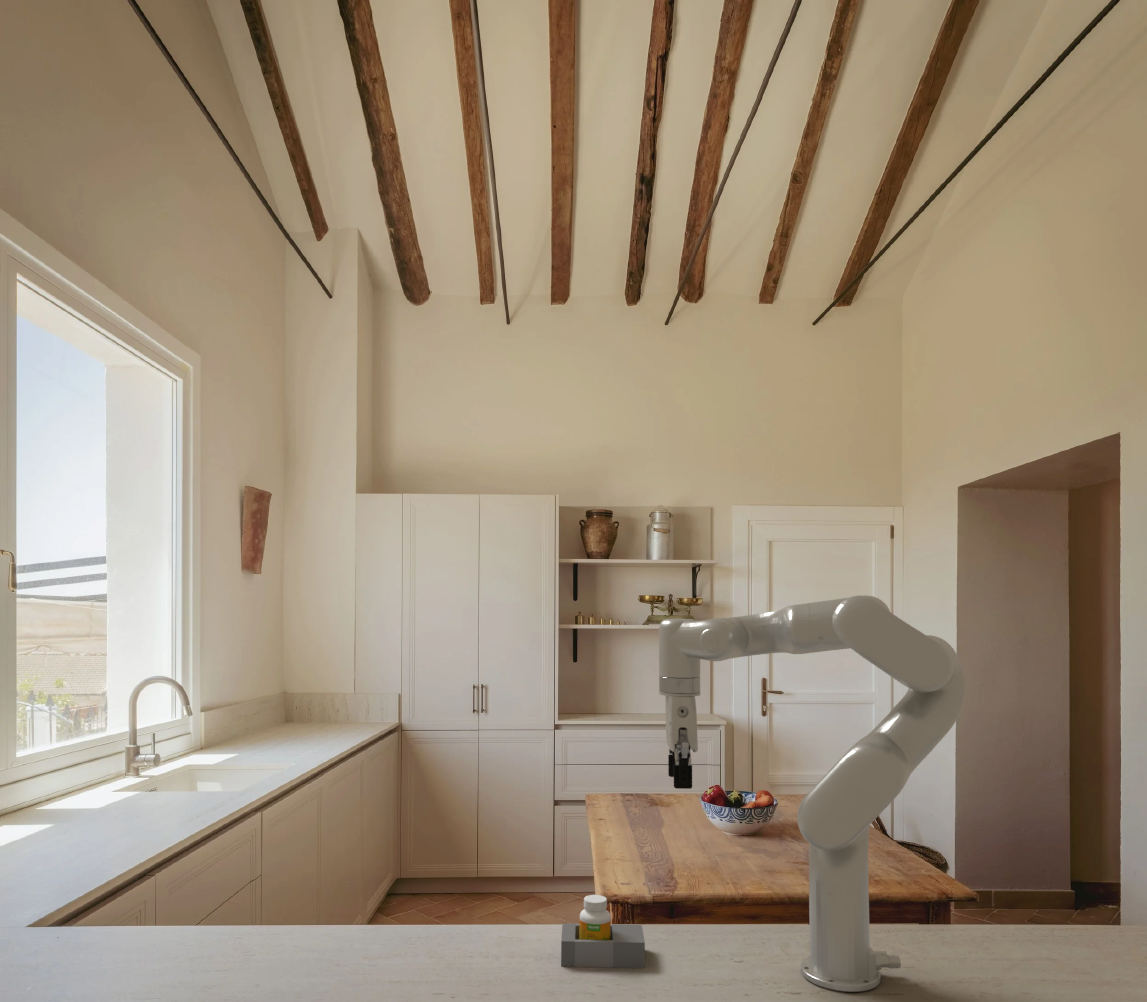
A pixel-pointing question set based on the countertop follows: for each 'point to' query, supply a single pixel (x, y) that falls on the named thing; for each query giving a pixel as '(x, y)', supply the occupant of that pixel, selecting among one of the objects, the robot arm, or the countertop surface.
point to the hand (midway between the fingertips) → (679, 782)
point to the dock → (604, 948)
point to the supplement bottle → (595, 919)
